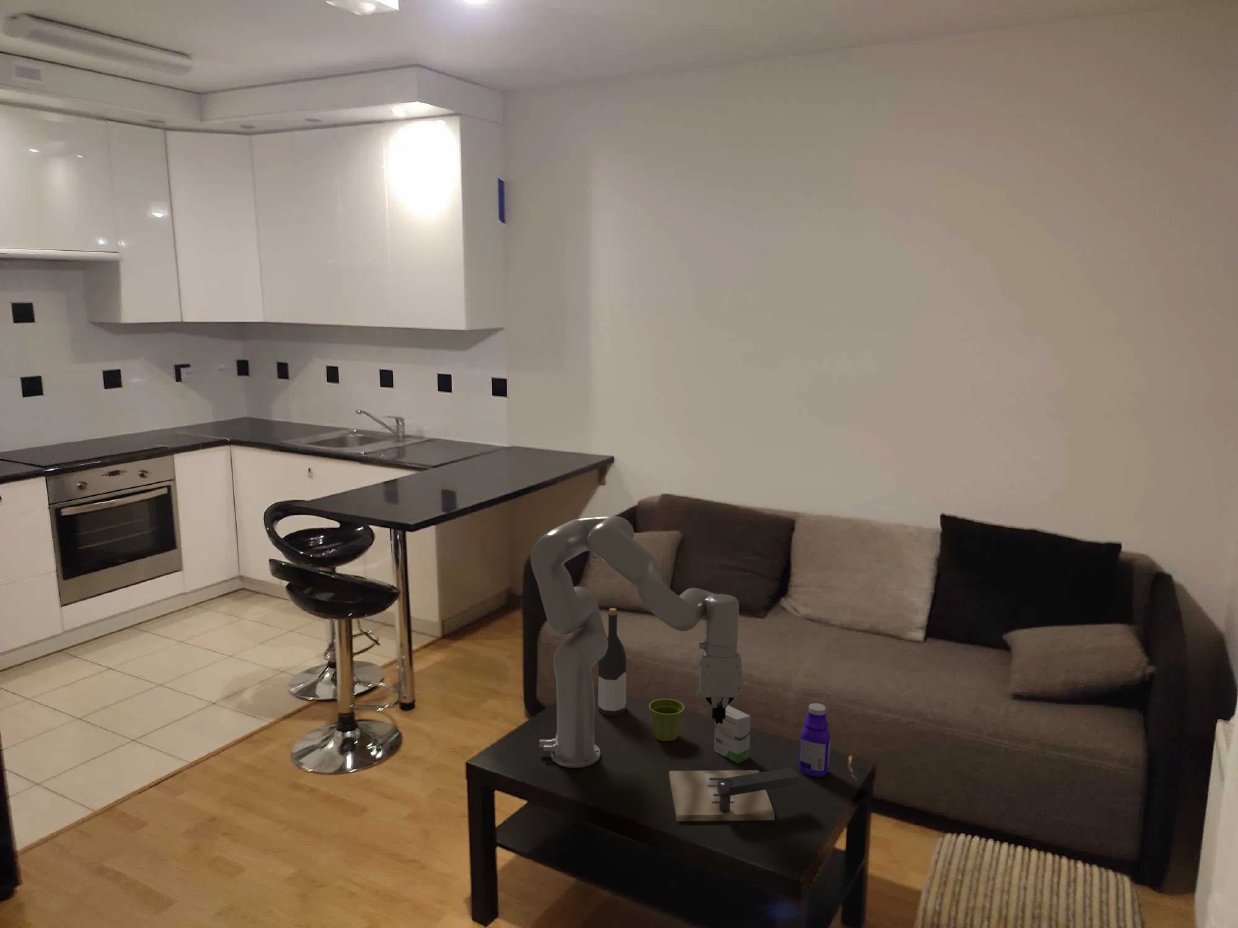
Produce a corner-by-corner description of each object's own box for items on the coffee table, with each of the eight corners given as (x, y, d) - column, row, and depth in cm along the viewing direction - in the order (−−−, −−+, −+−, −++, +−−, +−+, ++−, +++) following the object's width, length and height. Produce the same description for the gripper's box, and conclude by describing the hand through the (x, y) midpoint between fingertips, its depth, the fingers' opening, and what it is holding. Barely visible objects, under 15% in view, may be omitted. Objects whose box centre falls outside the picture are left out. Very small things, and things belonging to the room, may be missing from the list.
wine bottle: (607, 701, 258) (607, 602, 253) (631, 707, 254) (632, 607, 249) (592, 711, 252) (592, 610, 246) (617, 718, 248) (618, 616, 242)
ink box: (750, 758, 227) (752, 714, 225) (737, 764, 224) (738, 720, 222) (726, 745, 233) (727, 703, 231) (712, 751, 230) (713, 708, 228)
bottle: (830, 769, 221) (834, 704, 218) (825, 780, 216) (829, 714, 213) (801, 763, 224) (804, 698, 221) (796, 774, 219) (799, 708, 216)
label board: (676, 821, 199) (677, 798, 198) (669, 776, 218) (669, 755, 217) (774, 819, 200) (775, 797, 199) (758, 775, 218) (759, 754, 217)
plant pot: (660, 724, 244) (661, 695, 243) (690, 734, 239) (690, 704, 237) (641, 738, 237) (642, 707, 235) (671, 748, 231) (672, 717, 230)
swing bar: (714, 787, 202) (714, 779, 201) (790, 775, 207) (791, 767, 207) (721, 797, 198) (721, 788, 197) (799, 783, 203) (799, 775, 203)
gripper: (690, 653, 203) (688, 728, 206) (755, 654, 203) (752, 728, 207) (687, 641, 210) (685, 713, 214) (750, 641, 211) (747, 713, 214)
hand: (718, 720), depth 210 cm, fingers closed
